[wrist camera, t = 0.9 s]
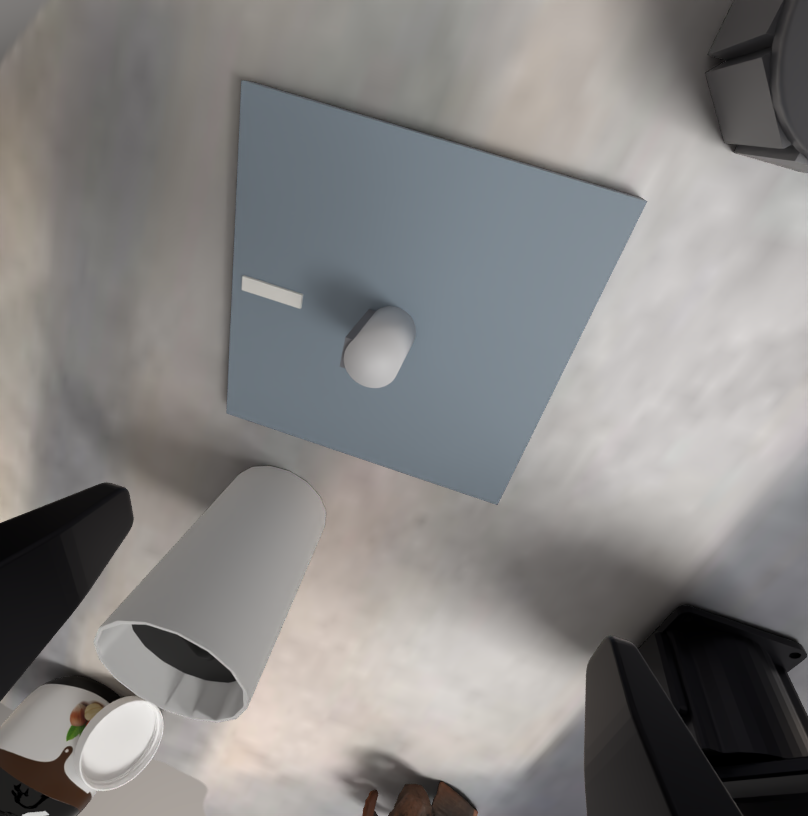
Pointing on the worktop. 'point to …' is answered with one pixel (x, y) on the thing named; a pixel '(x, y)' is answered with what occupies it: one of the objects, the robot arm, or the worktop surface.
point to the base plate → (407, 289)
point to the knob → (763, 81)
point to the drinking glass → (217, 599)
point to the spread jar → (73, 746)
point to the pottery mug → (424, 803)
